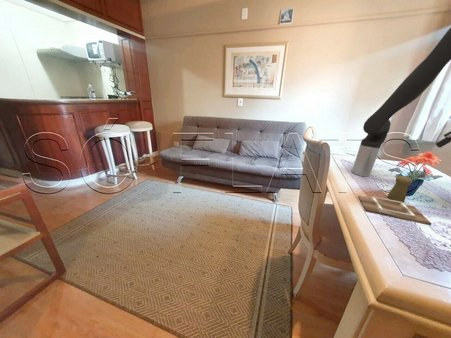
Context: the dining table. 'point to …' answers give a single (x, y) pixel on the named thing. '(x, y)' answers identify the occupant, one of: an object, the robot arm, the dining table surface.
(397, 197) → the olive game pawn
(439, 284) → the dining table surface
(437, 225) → the dining table surface
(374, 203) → the board
